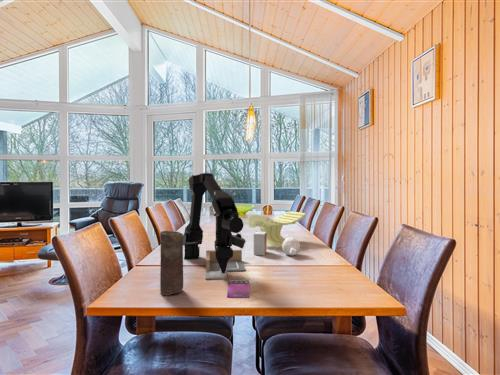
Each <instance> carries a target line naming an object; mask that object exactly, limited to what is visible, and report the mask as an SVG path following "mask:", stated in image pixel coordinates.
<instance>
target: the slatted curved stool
mask: <svg viewBox="0 0 500 375" xmlns="http://www.w3.org/2000/svg"><path fill="white" fill-rule="evenodd" d="M306 218H307V212H299V211H291V210H290V211H287V212H285V214H282V215H280V216H279V217H276V218H273V219H272V218H270V217H269V216H265V215H260V214H253V213H252V214H250V215H249V217H248V227H249V228H253V229H254V228H256V227H260V228H259V229H260V232H267V245H268V246H270V247H273V246H274V247H275V248H277V249H279V248H282V244H283V241H284V240H285V239H286V238H284V237H283V236H282V235H281V230H282V228H283V226H288V225H296V223H299V222H300V221H303V219H306Z"/></svg>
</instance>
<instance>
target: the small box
mask: <svg viewBox="0 0 500 375" xmlns="http://www.w3.org/2000/svg"><path fill="white" fill-rule="evenodd" d="M266 253H267V232H261V231H256V232H255V233H253V255H255V256H265V255H266Z"/></svg>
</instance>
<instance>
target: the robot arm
mask: <svg viewBox="0 0 500 375" xmlns="http://www.w3.org/2000/svg"><path fill="white" fill-rule="evenodd" d="M188 185H189V186H188V187H189V188H188V189H189V190H190V192H191V203H190V212H189V222H188V224H187V226H186V227H185V228H184V233H182V234H183V247H184V255H183V260H192V259H193V260H195V259H196V260H197V259H199V257H200V252H201V251H200V246H199V245H202V244H203V243H202V242H203V238H204V234H203V232H204V230H203V229H202V227H201V224H200V223H201V215H202V205H203V196H204V195H205V193H206V192H207V193H208V194H209V195H210V197H211V199H212V201H211V205H212V208H213V210H214V214H213V217H215V240H214V250H215V256H216V259H217V262H218V264H219V266H220V269H221V272H222V273H225V271H226V267H227V263H228V260H229V259H230V258H232V256H233V250H234V249H233V248H232V247H233V246H235V247H238V248H239V249H241V250H242V249H244V247H245V244H246V239H245V238H243V237H242V234H241V232H242V230H243V229H244V221H243V219H242V218H241V217H240V216H239V212H238V208H237V206H236V203H235V201H234V199H233V198H234V197H232V196H231V194H229V193H227V192H225V191H223V189H222V188H221V187H220V185H219V184H218V182H217V180H216V179H215V178H214V174H213V173H211V172H202V173H199V174H193V175H191V176H190V177H189V179H188ZM234 234H235V235H234Z"/></svg>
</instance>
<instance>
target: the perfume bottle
mask: <svg viewBox="0 0 500 375" xmlns="http://www.w3.org/2000/svg"><path fill="white" fill-rule="evenodd" d="M284 239H285V240H284V241H283V244H282V247H281V248H282V251H283V252H284V253H285V254H286V255H288V256H290V257H292V256H295V255H297V254H298V252H299V251H300V248H301V244H300V242H299V240H298V239H297V238H295V237H292V236H290V237H287V238H284Z"/></svg>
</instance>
